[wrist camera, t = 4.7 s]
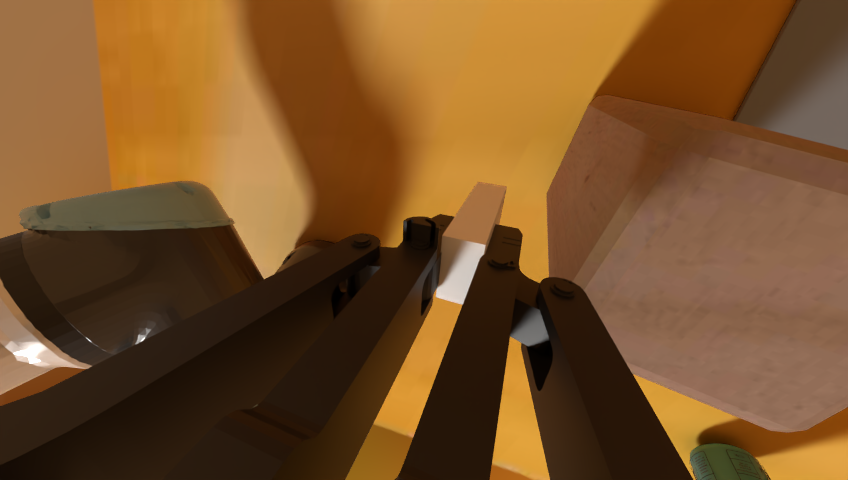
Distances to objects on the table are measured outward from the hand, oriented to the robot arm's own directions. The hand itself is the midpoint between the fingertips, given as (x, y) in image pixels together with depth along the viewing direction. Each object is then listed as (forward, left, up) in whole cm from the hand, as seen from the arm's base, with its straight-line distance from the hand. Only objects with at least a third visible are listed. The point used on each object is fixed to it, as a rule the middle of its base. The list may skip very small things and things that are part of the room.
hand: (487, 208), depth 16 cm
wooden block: (+10, 0, -16) cm, 18 cm away
